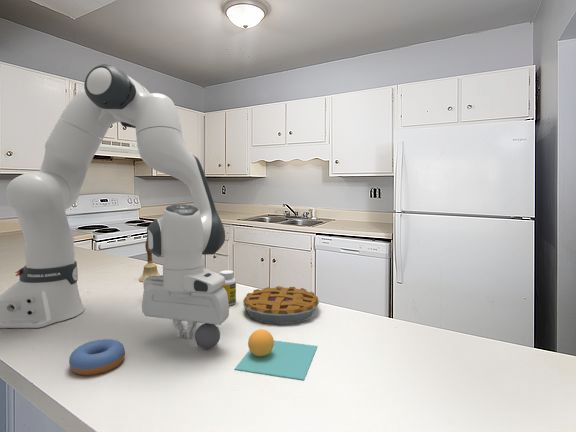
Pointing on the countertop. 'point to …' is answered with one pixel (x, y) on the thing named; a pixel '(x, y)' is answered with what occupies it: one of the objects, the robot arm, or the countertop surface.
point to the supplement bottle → (229, 286)
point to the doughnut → (97, 357)
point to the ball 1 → (207, 336)
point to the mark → (280, 361)
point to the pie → (281, 304)
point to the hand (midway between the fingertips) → (185, 337)
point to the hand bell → (149, 267)
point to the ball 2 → (261, 343)
